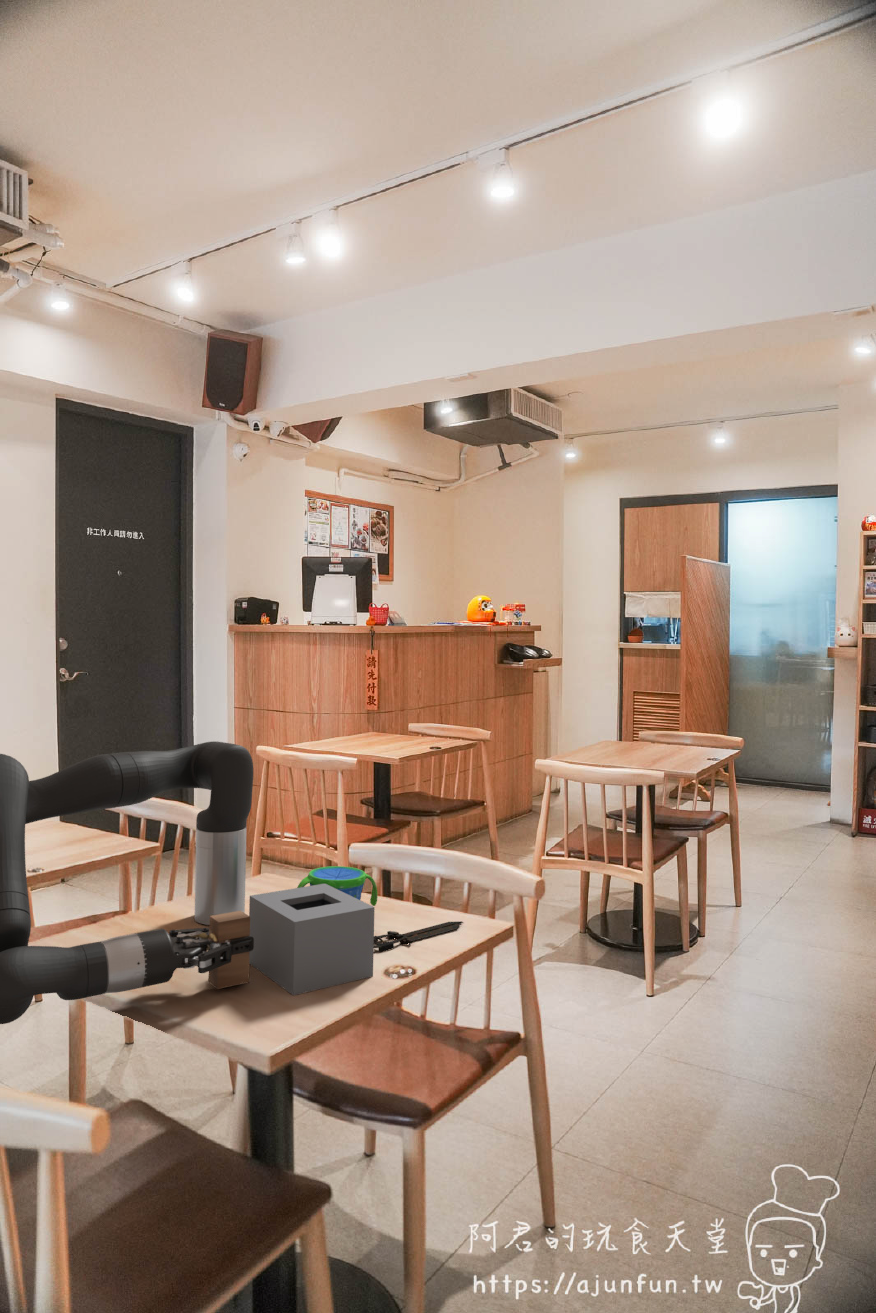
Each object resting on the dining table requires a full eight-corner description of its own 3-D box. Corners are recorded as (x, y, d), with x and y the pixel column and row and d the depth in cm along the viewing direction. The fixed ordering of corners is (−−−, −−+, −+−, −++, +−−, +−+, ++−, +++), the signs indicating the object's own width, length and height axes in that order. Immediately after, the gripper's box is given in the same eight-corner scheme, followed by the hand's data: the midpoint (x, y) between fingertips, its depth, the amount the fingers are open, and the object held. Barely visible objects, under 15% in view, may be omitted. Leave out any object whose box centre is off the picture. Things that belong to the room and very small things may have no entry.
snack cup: (369, 915, 171) (370, 863, 171) (384, 932, 161) (385, 877, 161) (288, 921, 166) (290, 868, 166) (299, 940, 156) (300, 882, 156)
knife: (458, 923, 169) (458, 916, 169) (479, 933, 163) (480, 925, 163) (344, 948, 154) (344, 940, 154) (363, 959, 148) (363, 950, 148)
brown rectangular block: (206, 981, 134) (208, 916, 134) (239, 974, 137) (240, 910, 137) (216, 989, 131) (217, 922, 131) (249, 982, 134) (250, 916, 134)
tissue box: (248, 962, 145) (249, 895, 144) (323, 946, 153) (325, 883, 153) (293, 995, 132) (294, 921, 131) (372, 976, 140) (374, 907, 140)
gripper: (151, 949, 120) (267, 927, 130) (119, 921, 131) (229, 902, 141) (150, 1004, 120) (266, 977, 130) (118, 971, 131) (228, 949, 141)
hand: (246, 938), depth 136 cm, fingers closed on brown rectangular block, 3 cm apart
